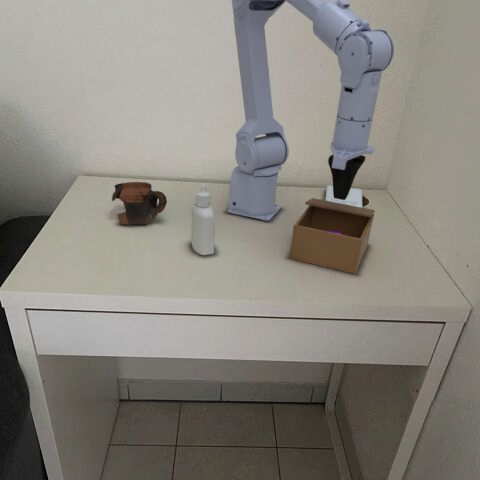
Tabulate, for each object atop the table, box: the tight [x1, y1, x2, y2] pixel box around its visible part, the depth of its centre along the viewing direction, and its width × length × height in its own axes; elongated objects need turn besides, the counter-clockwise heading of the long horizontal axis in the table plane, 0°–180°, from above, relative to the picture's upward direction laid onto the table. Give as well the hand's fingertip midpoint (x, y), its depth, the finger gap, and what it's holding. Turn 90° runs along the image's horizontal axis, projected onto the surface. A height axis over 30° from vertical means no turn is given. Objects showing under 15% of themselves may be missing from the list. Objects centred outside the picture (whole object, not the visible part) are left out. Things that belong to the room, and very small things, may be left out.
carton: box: [289, 205, 375, 275], centre depth 90 cm, size 12×12×6 cm
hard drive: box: [324, 185, 363, 208], centre depth 112 cm, size 2×8×12 cm
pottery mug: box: [111, 181, 168, 225], centre depth 99 cm, size 12×10×8 cm
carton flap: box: [304, 197, 376, 217], centre depth 90 cm, size 6×12×1 cm, turn 68°
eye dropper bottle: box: [190, 184, 216, 256], centre depth 87 cm, size 4×6×12 cm
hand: (340, 197), depth 87 cm, fingers closed
